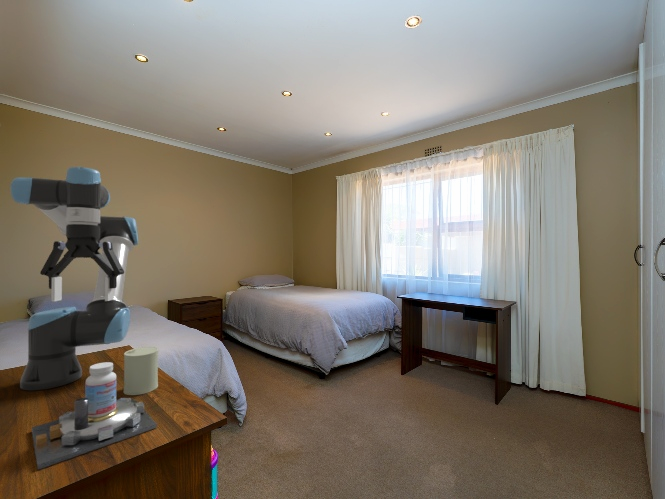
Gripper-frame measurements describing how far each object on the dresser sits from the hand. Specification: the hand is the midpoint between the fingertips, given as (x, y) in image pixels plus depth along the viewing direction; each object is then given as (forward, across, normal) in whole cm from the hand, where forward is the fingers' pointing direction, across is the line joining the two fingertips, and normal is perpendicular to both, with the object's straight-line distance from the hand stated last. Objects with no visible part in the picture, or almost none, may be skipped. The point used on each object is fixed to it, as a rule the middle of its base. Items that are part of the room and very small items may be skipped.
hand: (83, 300), depth 90 cm
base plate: (+28, +13, -14) cm, 34 cm away
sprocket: (+27, +13, -14) cm, 33 cm away
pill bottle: (+25, +13, -14) cm, 31 cm away
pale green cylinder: (+29, +12, +8) cm, 32 cm away
